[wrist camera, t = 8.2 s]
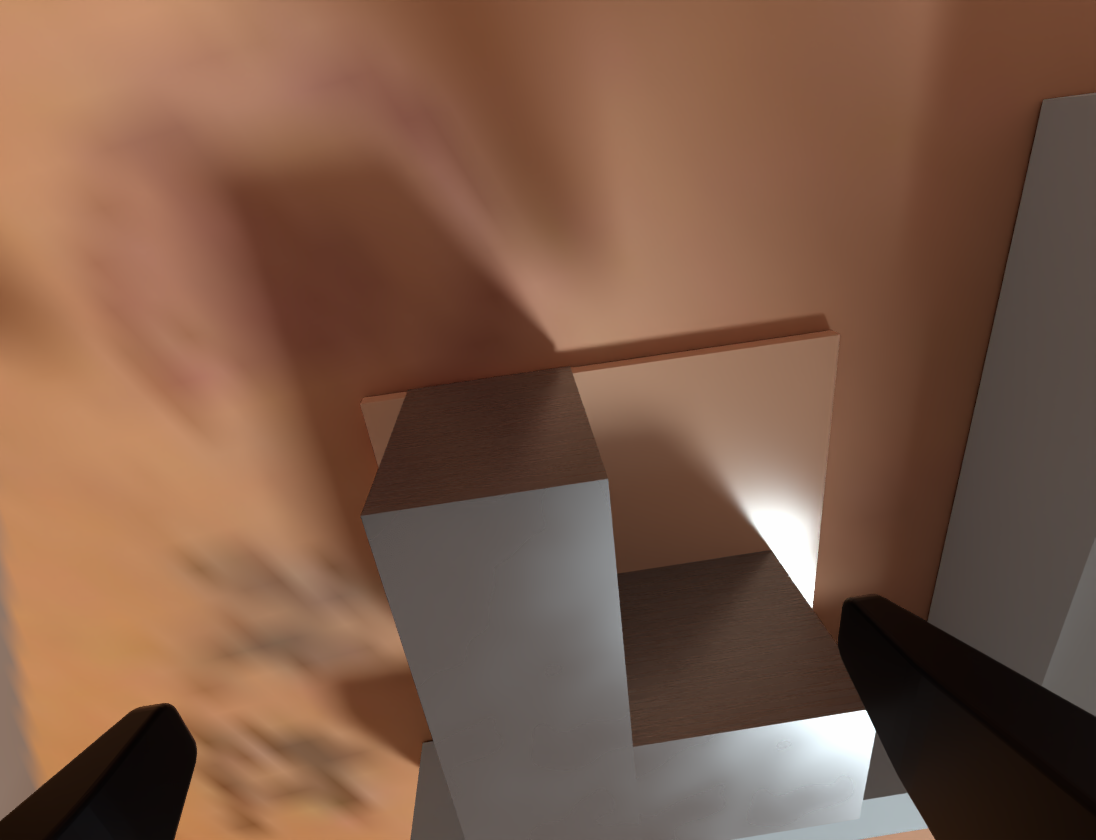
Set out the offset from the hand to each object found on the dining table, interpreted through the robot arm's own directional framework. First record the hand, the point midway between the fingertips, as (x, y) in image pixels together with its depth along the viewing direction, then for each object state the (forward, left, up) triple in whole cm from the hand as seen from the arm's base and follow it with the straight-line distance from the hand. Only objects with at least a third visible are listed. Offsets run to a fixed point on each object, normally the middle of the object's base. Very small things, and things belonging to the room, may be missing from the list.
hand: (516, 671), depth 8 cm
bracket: (-2, +1, -4) cm, 5 cm away
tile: (-2, +2, -5) cm, 5 cm away
